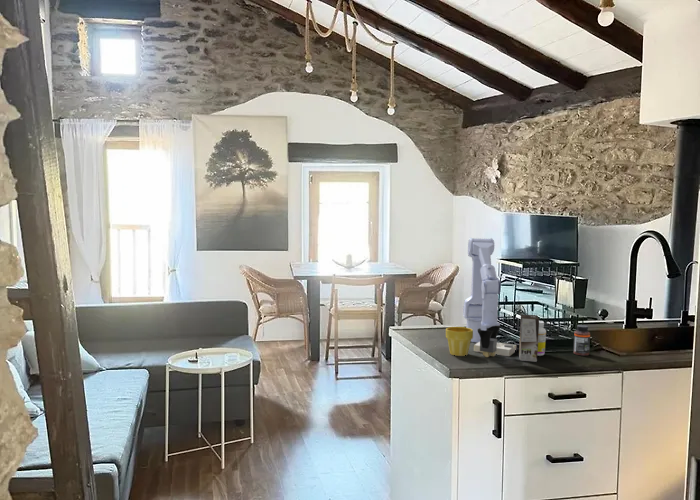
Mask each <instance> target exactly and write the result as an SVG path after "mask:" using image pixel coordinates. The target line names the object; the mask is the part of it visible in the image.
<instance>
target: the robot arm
mask: <svg viewBox="0 0 700 500" xmlns="http://www.w3.org/2000/svg"><path fill="white" fill-rule="evenodd" d="M494 251H495V241H494V239H493V238H492V237H491V238H479V237H476V238H475V237H469V240H468V242H467V255H468V257H469V258H471V261H472V265H471V266H472V267H471V286H470V287H471V292H470V296H468V297H467V298H465V300H464V302H463V306H462V307H463V308H462V315H463V318H464V319H465V320H466V327H465V328H470V329H472V330H473V338H472V339H471V342H470V343H476V344H477V343H478V342H480V339H481V343H482V348H488V347H489V343H490V338H494V339H497V336H498V333H499V331H500V330H501V322H498V314H499V313H498V310H499V309H498V308H499V295H501V294H500V293H501V288H502V287H501V284H502V283H501V280H500V278H499V277H497V273H496V268H495V266H494V265H492V259H491V258H492V257H491V256H492V255H493V254H494Z"/></svg>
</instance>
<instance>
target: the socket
mask: <svg viewBox="0 0 700 500" xmlns="http://www.w3.org/2000/svg"><path fill="white" fill-rule="evenodd" d="M515 350H516V351H517V344H513V343H504V342H498V341H497V351H495V355H496V354H497V356H503V357H511V356H512V355H513V354H515ZM473 352H475V353H476V352H477V353H482V354H483V351H480V342H478V343H477V342H476V343H475V344H474V345H473Z"/></svg>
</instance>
